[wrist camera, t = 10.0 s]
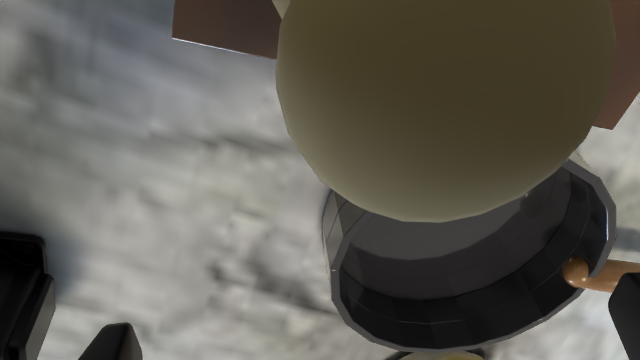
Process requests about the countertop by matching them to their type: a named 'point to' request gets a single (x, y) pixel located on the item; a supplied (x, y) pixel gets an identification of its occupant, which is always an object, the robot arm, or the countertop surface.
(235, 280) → the countertop surface
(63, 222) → the countertop surface
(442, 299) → the pan
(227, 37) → the serving board
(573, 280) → the pan handle
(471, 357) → the bread roll
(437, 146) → the olive gourd
